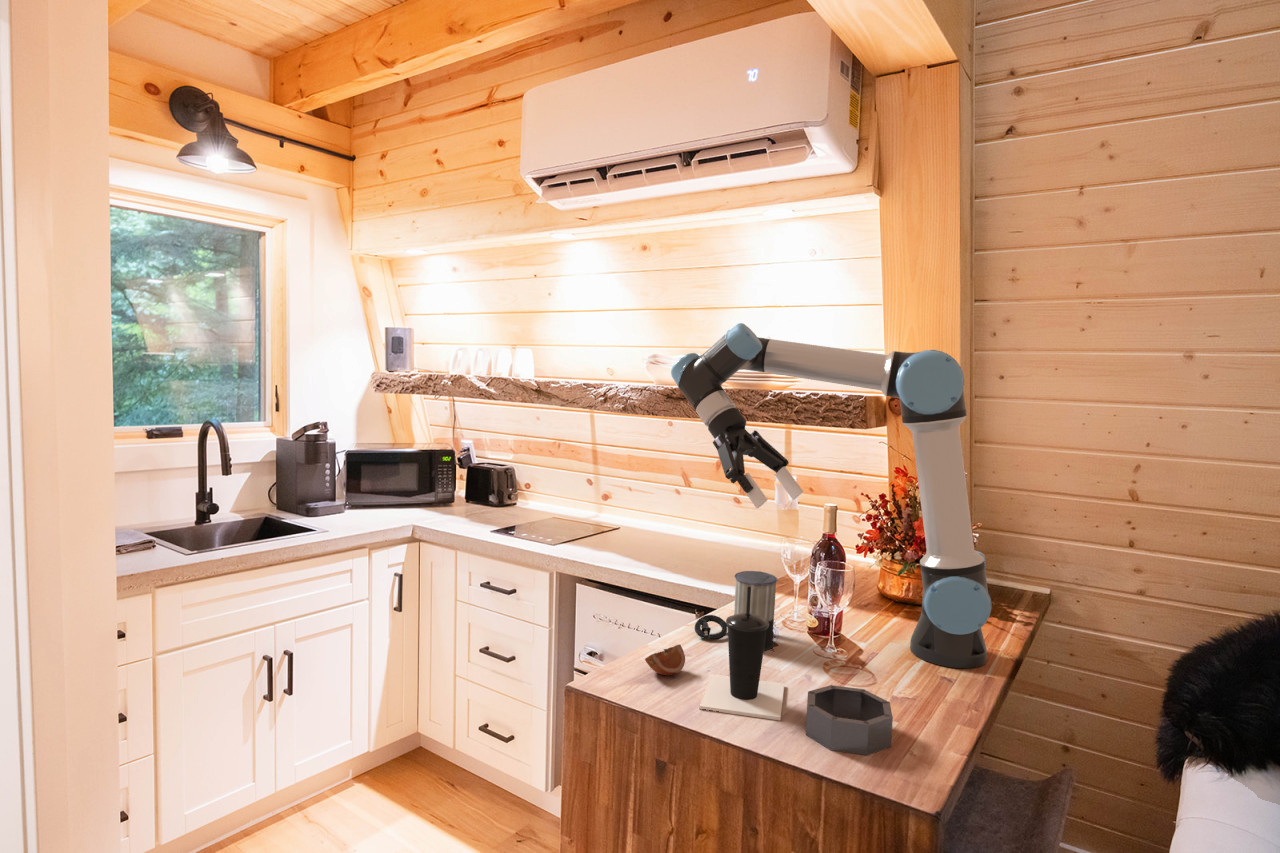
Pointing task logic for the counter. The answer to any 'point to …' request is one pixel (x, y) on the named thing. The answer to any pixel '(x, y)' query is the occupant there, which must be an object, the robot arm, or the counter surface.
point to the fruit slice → (667, 660)
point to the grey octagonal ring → (849, 720)
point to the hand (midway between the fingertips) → (780, 500)
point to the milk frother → (759, 604)
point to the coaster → (761, 706)
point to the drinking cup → (746, 651)
